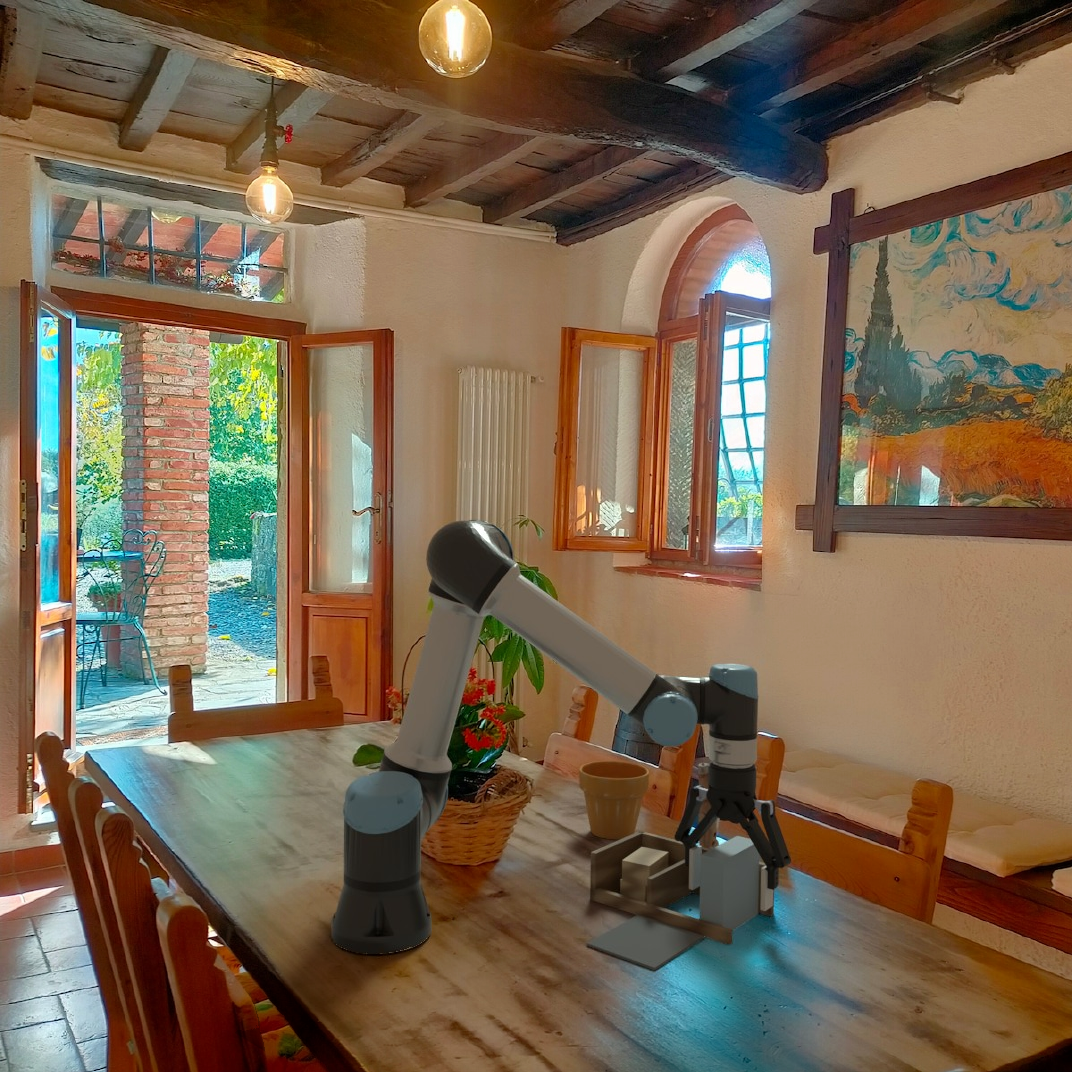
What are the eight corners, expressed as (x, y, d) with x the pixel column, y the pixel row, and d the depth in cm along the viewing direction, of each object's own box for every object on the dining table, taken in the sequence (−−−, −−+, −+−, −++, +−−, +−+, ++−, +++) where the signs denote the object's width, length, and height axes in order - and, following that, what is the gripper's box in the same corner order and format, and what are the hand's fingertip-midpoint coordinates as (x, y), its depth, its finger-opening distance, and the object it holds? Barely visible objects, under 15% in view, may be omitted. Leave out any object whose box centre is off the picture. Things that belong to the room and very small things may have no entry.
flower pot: (647, 823, 204) (648, 762, 203) (648, 846, 190) (649, 780, 189) (580, 820, 205) (581, 759, 205) (576, 842, 191) (577, 777, 191)
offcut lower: (619, 900, 163) (620, 879, 163) (646, 886, 169) (646, 866, 169) (644, 908, 160) (645, 887, 160) (670, 894, 166) (671, 873, 166)
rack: (590, 899, 163) (590, 852, 162) (639, 874, 174) (640, 830, 174) (729, 945, 146) (730, 892, 146) (773, 914, 158) (774, 865, 157)
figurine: (742, 884, 170) (744, 771, 170) (695, 880, 172) (697, 768, 172) (742, 863, 181) (744, 757, 180) (697, 860, 182) (699, 754, 182)
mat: (586, 945, 145) (586, 943, 145) (638, 916, 156) (638, 914, 156) (654, 970, 137) (654, 967, 137) (704, 938, 148) (704, 935, 148)
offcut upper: (621, 880, 162) (622, 860, 162) (641, 866, 169) (641, 846, 169) (649, 887, 160) (649, 866, 160) (668, 872, 167) (668, 852, 167)
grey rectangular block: (699, 931, 151) (700, 854, 151) (735, 907, 160) (737, 835, 160) (722, 938, 148) (723, 860, 148) (758, 914, 158) (759, 841, 157)
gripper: (654, 754, 159) (652, 884, 159) (794, 781, 143) (791, 926, 144) (678, 746, 164) (676, 872, 165) (815, 771, 149) (812, 910, 149)
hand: (729, 897), depth 154 cm, fingers open, 12 cm apart
